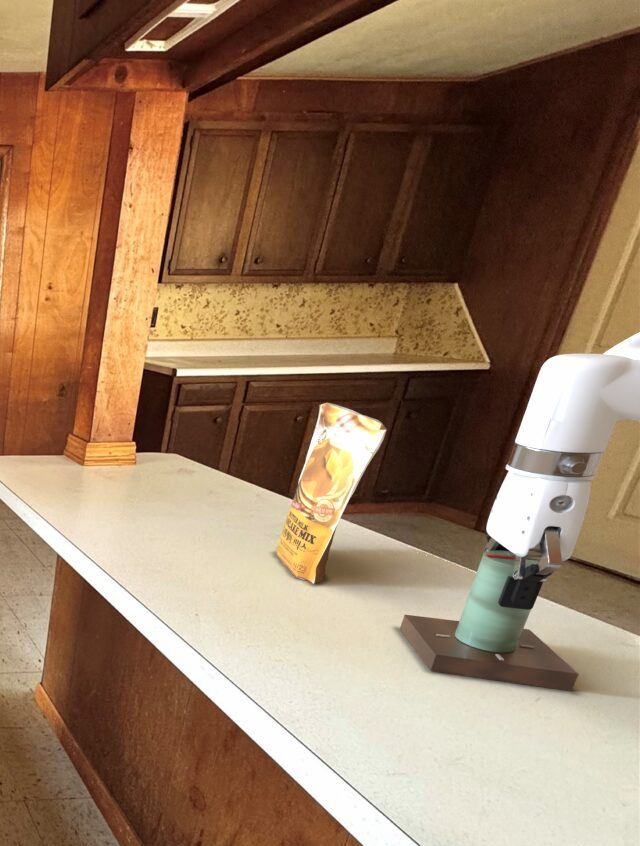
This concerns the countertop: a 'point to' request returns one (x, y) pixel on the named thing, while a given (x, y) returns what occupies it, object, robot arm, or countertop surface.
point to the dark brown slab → (487, 656)
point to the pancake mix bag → (326, 487)
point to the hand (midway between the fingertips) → (501, 594)
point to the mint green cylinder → (492, 607)
